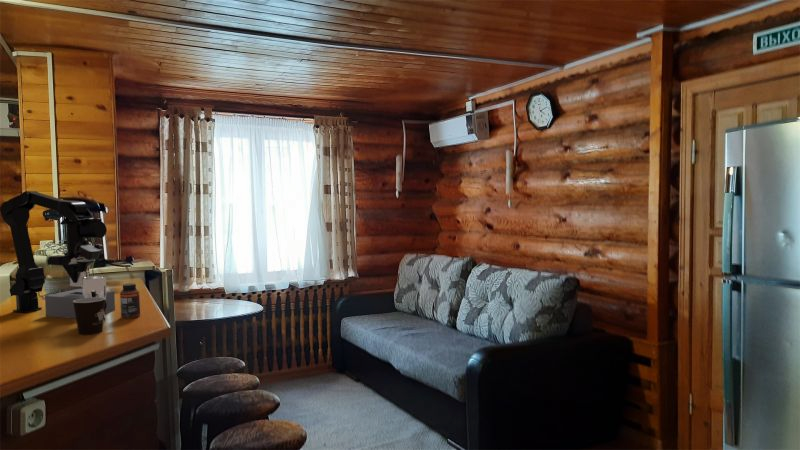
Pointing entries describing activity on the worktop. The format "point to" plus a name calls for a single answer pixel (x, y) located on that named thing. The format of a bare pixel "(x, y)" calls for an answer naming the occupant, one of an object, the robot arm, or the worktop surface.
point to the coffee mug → (90, 314)
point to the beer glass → (94, 288)
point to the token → (78, 279)
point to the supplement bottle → (130, 301)
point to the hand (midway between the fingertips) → (77, 282)
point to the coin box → (71, 303)
